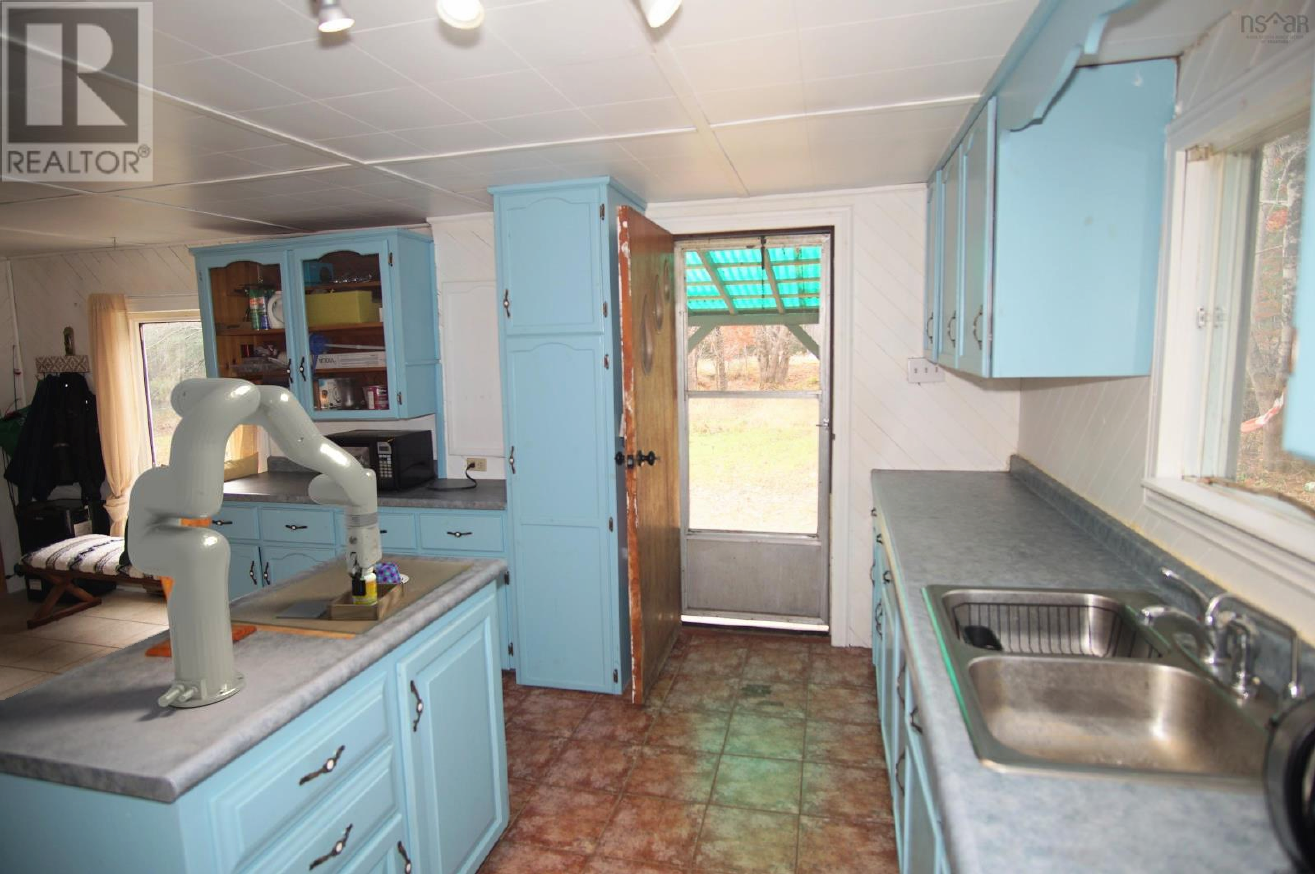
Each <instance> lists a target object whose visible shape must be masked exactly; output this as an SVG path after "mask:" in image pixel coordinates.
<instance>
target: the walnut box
mask: <svg viewBox="0 0 1315 874" xmlns="http://www.w3.org/2000/svg"><path fill="white" fill-rule="evenodd" d="M404 589H405V588H404V583H401V582H399V583H377V598H380V599H379V600H377V603H376V604H375V605H374V604H354V599H353V595H352V586H351V587H350V588H348V589H347V590H346V591H344V592H343V593H342V594H340V595H339V596H337V597H336V598H335V599H334V600H332V601H333V602H331V603H330V604H329V605H327V611H326V614H327V621H379V620H380V619H381V618H382V617H383V616H384V615H385V614H386V613H387V612H388V611H389V610H391V609H392V608H393V607H394V606H395V605H396V604H397V603H398V602H399V601H400V600H401V599H402V598H403V597H404V596H405V590H404ZM402 596H403V597H402ZM398 600H399V601H398ZM397 601H398V602H397ZM396 602H397V603H396ZM393 605H394V606H393ZM392 606H393V607H392ZM383 614H384V615H383ZM382 615H383V616H382ZM378 619H379V620H378Z"/></svg>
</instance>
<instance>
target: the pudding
mask: <svg viewBox="0 0 1315 874" xmlns="http://www.w3.org/2000/svg"><path fill="white" fill-rule="evenodd" d="M376 565H377V571H375V572H377V583H401V582H403V584H405V583H407V582H408V581H409V579H410V577H409V576H408V575H406V574H403V573H402V574H401V573H400V571H399V567H398V566H397V564H396V563H394V562H380V563H378V564H376ZM402 578H403V580H402Z"/></svg>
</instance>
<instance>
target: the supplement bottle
mask: <svg viewBox="0 0 1315 874" xmlns="http://www.w3.org/2000/svg"><path fill="white" fill-rule="evenodd" d="M356 567H360V565H356ZM356 572H359V574H360V570H356ZM372 572H373V566H370V567H369V568H367V569H365V572H364V579H366V595H365V596H353V599H354V603H353V604H374V605H375V604H376V603H377V602H378V597H377V587H376V575H375V574H374V573H372Z"/></svg>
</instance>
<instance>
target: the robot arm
mask: <svg viewBox="0 0 1315 874" xmlns="http://www.w3.org/2000/svg"><path fill="white" fill-rule="evenodd" d="M169 399H170V404H171V407H172V409H173V411H174V412H175V414H177V416H179V417H180V418H181V420H180V421H179V422H178V424H176V427H175V429H174V431H173V434H172V437H171V441H170V442H171V443H170V450H169V457H168V465H166V466H165V465H163V466H162V465H161V466H154V467H152V468H149V469H147V470H145V471H144V472H143V473H141V474H140V475H139V476H138V478H136V480H135V481H134V483H133V485H132V487H131V491H130V492H129V493H130V494H129V500H128V501H129V502H128V520H127V521H128V522H127V526H128V527H127V553H128V558H129V561H130V563H131V565H132V566H133V568H135V569H136V570H137V571H138V572H140V573H143V574H145V575H150V576H157V577H164V578H170V579H173V582H172V587H171V589H170V591H169V595H168V598H167V603H166V604H167V605H166V610H167V620H168V628H169V637H170V638H169V640H170V649H171V656H172V657H171V658H172V659H171V660H172V669H173V678H174V679H172V680H171V687H170V688H169V689H168V690H167V691H166V693H165V694H163V695H161V696H160V697H159V698H158V699H157V703H158V705H159V707H162V708H166V707H168V706H169V705H170V706H173V707H176V708H194V707H195V708H196V707H200V706H206V705H209V704H214V703H217V702H219V701H222V700H225V699H228V698H230V697H231V696H234V695H235V694H236V693H238V692H239V691H240V690H242V689H243V688H244V686H245V684H246V676H245V674H244V673H243V672H241V671H239V670H236V668H235V656H234V655H235V654H234V646H233V645H234V643H233V634H232V632H233V631H232V623H231V611H230V603H229V602H230V601H229V599H230V598H229V585H228V584H229V583H228V580H229V570H230V562H231V557H232V556H231V554H232V553H231V547H230V543H229V541H228V539H227V538H226V537H225V536H224V535H223V534H222V533H220V532H218V531H216V530H214V529H210V528H207V527H199V526H192V525H182V520H188V521H189V520H191V521H192V520H193V521H194V520H195V521H197V520H198V521H199V520H207V519H210V518H212V517H213V516H215V515H217V513H218V512H219V511H220V510H221V507H222V505H223V500H224V489H225V485H224V484H225V482H224V481H225V463H226V462H225V460H226V450H227V444H228V441H229V439H230V437H231V436H232V434H233V432H235V430H236V429H237V428H238V427H239V426H240V425H242V426H259V427H261V428H262V429H264V430H265V432H266V434H267V435H268V436H269V437H270V438H271V439H272V441H273V442H274V444H275V445H276V446H277V448H278V449H279V450H280V451H281V453H282V454H283V455H284V456H285V458H286V459H288V460H290V461H291V462H293V463H296V464H297V465H299V466H303V467H305V468H307V469H311V470H313V471H316V472H318V473H321V474H319V475H317V476H315V477H314V478H312V480H311V481H310V483H309V485H308V489H307V490H308V491H307V492H308V496H309V497H310V499H311V500H312V501H313V502H314V503H316V504H319V505H321V506H330V507H343V514H344V517H343V519H344V528H346V532H345V533H346V534H345V535H346V537H345V560H346V561H345V562H346V567H347V569H346V573H347V574H348V575H349V577H350V581H351V587H352V595H353V596H365V595H366V579H364V572H365V569H367V568H369V567H370V566H373V572H372V573H374V574H375V575H376V587H377V572H375V571H377V565H378V564H377V563H378V562H379V561H380V560H381V559H382V557H383V551H382V549H383V548H382V540H381V539H382V538H381V532H380V526H379V515H378V513H379V512H378V494H377V493H378V491H377V490H378V489H377V476H376V475H377V474H376V472H375V470H374V469H372V468H371V469H370V468H364V467H363V466H362V464H361V463H360V462H359V461H358V459H356V457H355V456H353V455H352V454H350V453H349V452H348V451H346V449H343V448H342V447H341V446H340V445H338V444H337V443H335V442H334V441H332V440H330V439H329V438H327V437H326V436H324V435H323V434H322V433H321V431H320V430H319V429H318V427H317V426H316V424H315V423H314V422H313V420H312V419H311V417H310V416H309V414H308V413H307V411H306V410H305V409H304V407H303V406H302V405H301V403H300V401H299V400H298V399H297V398H296V396H295V395H294V393H292V391H290V390H289V389H288V388H286V387H284V386H280V385H268V384H267V385H266V384H265V385H263V384H262V385H261V384H258V385H257V384H254V383H253V382H251V381H249V380H246V379H243V378H234V377H191V378H186V379H184V380H181V381H179V382H177V384H176V385H175V386H174V387H173V388H172V390H171V393H170V398H169ZM357 566H360V567H357ZM356 570H360V574H359V572H356Z"/></svg>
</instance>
